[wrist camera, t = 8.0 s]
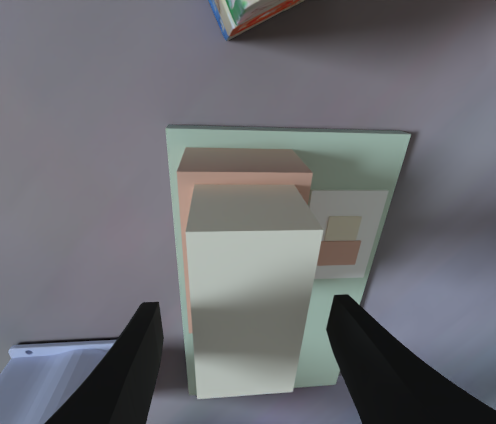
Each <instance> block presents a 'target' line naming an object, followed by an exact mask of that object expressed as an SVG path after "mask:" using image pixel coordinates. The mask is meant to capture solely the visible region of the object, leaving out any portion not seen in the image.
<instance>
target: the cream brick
mask: <svg viewBox="0 0 496 424" xmlns="http://www.w3.org/2000/svg"><path fill="white" fill-rule="evenodd" d="M185 233H186V247H187V261H188V275H189V290H190V304H191V318H192V332H193V346H194V360H195V374H196V388H197V399H207V398H220V397H233V396H246V395H259V394H272V393H285V392H293V388H294V383H295V378H296V372H297V367H298V362H299V357H300V351H301V346H302V341H303V335H304V330H305V325H306V320H307V314H308V309H309V304H310V298H311V293H312V288H313V282H314V277H315V272H316V267H317V261H318V256H319V251H320V245H321V240H322V235H323V228H322V227H321V225H320V224H319V222H318V221H317V219H316V217H315V216H314V214H313V213H312V211H311V210H310V208H309V207H308V205H307V203H306V202H305V200H304V199H303V197H302V196H301V194H300V193H299V191H298V189H297V188H296V186H295V185H206V184H194V189H193V194H192V200H191V205H190V210H189V216H188V221H187V226H186V232H185Z"/></svg>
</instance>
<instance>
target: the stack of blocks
mask: <svg viewBox="0 0 496 424" xmlns="http://www.w3.org/2000/svg"><path fill="white" fill-rule="evenodd" d="M208 1H209V3H210V5H211V8H212V10H213V13H214V15H215V17H216V20H217V22H218V24H219V26H220V29H221V31H222V34H223V36H224V38H225V40H226V41H228V40H230V39H232V38H234V37H236V36H238V35H239V34H241V33H243V32H245V31H247V30H249V29H251V28H253V27H255V26H256V25H258V24H260V23H262V22H264V21H266V20H268V19H270V18H271V17H273V16H275V15H277V14H279V13H281V12H283V11H286V10H288V9H290V8H292V7H293V6H295V5H297V4H299V3H301V2H303V1H305V0H208Z"/></svg>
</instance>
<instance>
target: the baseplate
mask: <svg viewBox="0 0 496 424" xmlns="http://www.w3.org/2000/svg"><path fill="white" fill-rule="evenodd" d="M410 137H411V134H409V133H406V132H403V131H390V130H351V129H312V128H273V127H234V126H195V125H168V126H167V127H166V140H167V151H168V163H169V174H170V185H171V197H172V208H173V220H174V231H175V242H176V254H177V265H178V276H179V288H180V299H181V311H182V322H183V333H184V345H185V356H186V367H187V379H188V390H189V395H197V388H196V374H195V360H194V346H193V332H192V318H191V304H190V290H189V275H188V261H187V247H186V233H185V232H186V226H187V221H188V216H189V210H190V205H191V200H192V194H193V189H194V184H206V185H295V186H296V188H297V189H298V191H299V193H300V194H301V196H302V197H303V199H304V200H305V202H306V203H307V205H308V207H309V208H310V210H311V211H312V213H313V214H314V216H315V217H316V219H317V221H318V222H319V224H320V225H321V227H322V228H323V235H322V240H321V245H320V251H319V256H318V261H317V267H316V272H315V277H314V282H313V288H312V293H311V298H310V304H309V309H308V314H307V320H306V325H305V330H304V335H303V341H302V346H301V351H300V357H299V362H298V367H297V372H296V378H295V383H294V388H298V387H312V386H325V385H336V381H337V378H338V375H339V372H340V369H339V366H338V364H337V362H336V359H335V357H334V354H333V351H332V348H331V345H330V342H329V338H328V335H327V331H326V327H327V323H328V318H329V314H330V310H331V306H332V302H333V297H334V295H341V294H348V295H349V296H350V297H352V298H353V299H354V300H355V301H356V302H357V303H358V304H359V305H360V302H361V299H362V296H363V292H364V289H365V286H366V282H367V279H368V276H369V272H370V269H371V266H372V262H373V259H374V256H375V253H376V249H377V246H378V243H379V239H380V236H381V233H382V229H383V226H384V223H385V219H386V216H387V213H388V210H389V206H390V203H391V200H392V196H393V193H394V190H395V186H396V183H397V180H398V177H399V173H400V170H401V167H402V163H403V160H404V157H405V153H406V150H407V147H408V143H409V140H410Z"/></svg>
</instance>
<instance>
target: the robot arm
mask: <svg viewBox="0 0 496 424" xmlns="http://www.w3.org/2000/svg"><path fill="white" fill-rule="evenodd" d="M326 331H327V335H328V338H329V342H330V345H331V348H332V351H333V354H334V357H335V359H336V362H337V364H338V366H339V369H340V371H341V373H342V376H343V378H344V380H345V383H346V385H347V387H348V390H349V392H350V394H351V397H352V399H353V401H354V404H355V406H356V408H357V411H358V413H359V416H360V419H361V421H362V424H496V410H494V409H492V408H491V407H489V406H487V405H486V404H484V403H483V402H481V401H479V400H478V399H476V398H475V397H473V396H472V395H470V394H469V393H467V392H466V391H464V390H463V389H461V388H460V387H458V386H457V385H455V384H454V383H452V382H451V381H449V380H448V379H447V378H445V377H444V376H442V375H441V374H440V373H438V372H437V371H436V370H434V369H433V368H432V367H430V366H429V365H428V364H426V363H425V362H424V361H422V360H421V359H420V358H419V357H417V356H416V355H415V354H414V353H412V352H411V351H410V350H409V349H408V348H406V347H405V346H404V345H403V344H402V343H400V342H399V341H398V340H397V339H396V338H395V337H393V336H392V335H391V334H390V333H389V332H388V331H387V330H386V329H385V328H383V327H382V326H381V325H380V324H379V323H378V322H377V321H376V320H375V319H374V318H373V317H372V316H371V315H369V314H368V313H367V312H366V311H365V310H364V309H363V308H362V307H361V306H360V305H359V304H358V303H357V302H356V301H355V300H354V299H353V298H352V297H350V296H349V295H348V294H341V295H334V297H333V302H332V306H331V310H330V314H329V318H328V323H327V327H326ZM163 339H164V337H163V329H162V322H161V315H160V307H159V302H144V303H142V304H141V305H140V306H139V308H138V309H137V311H136V313H135V314H134V316H133V317H132V319H131V320H130V322H129V323H128V325H127V326H126V328H125V329H124V330H123V332H122V333H121V335H120V336H119V337H118V339H117V340H101V341H81V342H62V343H43V344H23V345H13V346H12V347H11V348H10V349H9V351H8V352H9V355H10V357H11V358H12V359H11V360H10V361H9V362H8V364H7V365H6V367H5V368H4V370H3V371H2V372H1V374H0V424H146V421H147V416H148V412H149V408H150V404H151V400H152V396H153V392H154V388H155V384H156V379H157V375H158V371H159V367H160V361H161V354H162V347H163Z"/></svg>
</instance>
